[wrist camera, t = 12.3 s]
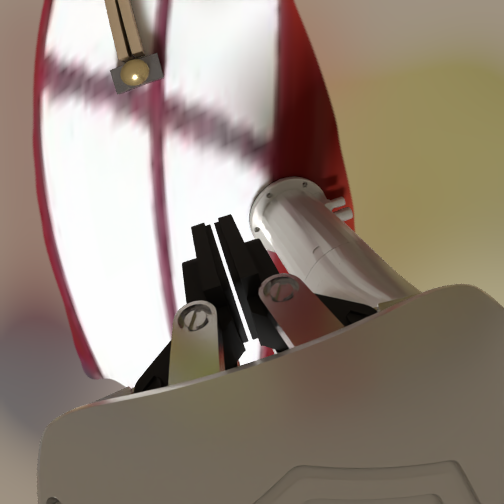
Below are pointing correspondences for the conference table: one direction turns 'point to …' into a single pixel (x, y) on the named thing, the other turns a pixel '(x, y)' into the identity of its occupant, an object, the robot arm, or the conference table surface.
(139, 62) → the lock button
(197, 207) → the conference table surface
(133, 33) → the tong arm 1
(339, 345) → the robot arm
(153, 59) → the tong hinge
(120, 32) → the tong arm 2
